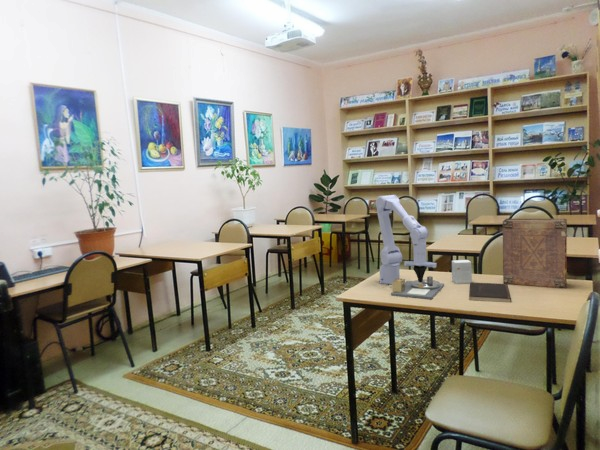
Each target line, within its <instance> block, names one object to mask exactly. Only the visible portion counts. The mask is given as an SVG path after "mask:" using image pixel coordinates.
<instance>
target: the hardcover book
mask: <svg viewBox="0 0 600 450" xmlns="http://www.w3.org/2000/svg"><path fill="white" fill-rule="evenodd" d="M508 285H509V284H504V283H491V282H473V281H472V282H470V283H469V291H468V292H469V293H468V296H469V300H470V301H482V302H483V301H484V302H485V301H487V302H499V303H500V302H504V303H512V298H511V294H510V289H509V286H508Z"/></svg>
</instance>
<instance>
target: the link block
mask: <svg viewBox="0 0 600 450" xmlns="http://www.w3.org/2000/svg"><path fill="white" fill-rule="evenodd" d="M405 282H406V279H405V278H400V279H398V278H396V279H395V280H394V281H392V284H391V285H392V292H396V293H402V292H403V291H404V290H405Z"/></svg>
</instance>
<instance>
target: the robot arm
mask: <svg viewBox="0 0 600 450" xmlns="http://www.w3.org/2000/svg"><path fill="white" fill-rule="evenodd" d="M400 201H401V200H400V198H399V197H398V196H397V195H396V194H391V195H379V196H378V197H377V198H376V200H375V206H376V207H375V208H376V211H377V212H376V213H377V218H378V223H379V228H380V232H381V238H382V243H383V248H382V250H381V251H380V261H381V263H382V264H381V265H380V266H379V284H385V285H386V284H387V285H392V281H394V280H395V279H396V278H398V279H401V278H400V273H401V272H400V265H401V263H402V262H403V266H404V267H407V266H409V267H413V268H412V269H413V272H414V273H415V275H416V277H417V280H418V282H422V281H423V280H424V276H425V273H426V270H427V268H433V269H435V268H437V267H438V266H437V262H431V261H427V238H429V234H430V232H429V229H428V228H427V227H426V226H424V225H421V224H420V223H419V221H417V220H416V218H415V216H414V215H411V214H408V213H407V211H406V210H405V208H404V207H403V206H402V204H401V203H400ZM392 211H394V212H395V213H396V215H398V217H399V218H400V219H401V220H402V224H403V226H404V227H405V228H406V229H407V230H408V231H409V236H410V237H409V238H410V239H411V243H412V250H413V251H412V253H413V254H412V255H413V260H410V261H409V260H405V261H403V254H402V252H401V250H400V247H398V246H397V245H395V244H396V243H395V237H394V234H393V229H392V224H391V219H390V213H391V212H392Z"/></svg>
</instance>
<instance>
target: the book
mask: <svg viewBox="0 0 600 450" xmlns="http://www.w3.org/2000/svg"><path fill="white" fill-rule="evenodd" d="M567 221H568V219H567V218H505V219H504V220H502V272H503V273H502V279H503V280H502V281H503V283H502V284H507V285H512V286H515V285H516V286H528V287H539V288H540V287H541V288H551V289H553V288H554V289H563V290H564V289H567V286H568V285H567V279H568V278H567V276H568V275H567V267H568V266H567V257H568V255H567V254H568V253H567V250H568V249H567V247H568V246H567V244H568V243H567V229H568V228H567V224H568V222H567Z"/></svg>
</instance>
